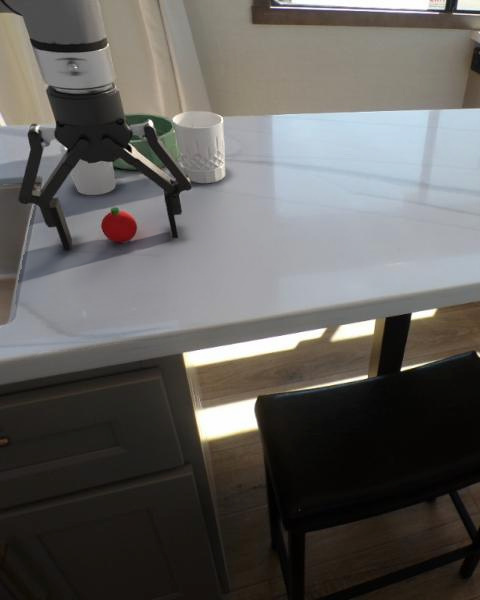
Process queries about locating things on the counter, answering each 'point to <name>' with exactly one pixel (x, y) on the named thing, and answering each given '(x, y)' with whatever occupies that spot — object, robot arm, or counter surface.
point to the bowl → (163, 132)
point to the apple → (119, 226)
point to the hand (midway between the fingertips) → (123, 239)
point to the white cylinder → (92, 176)
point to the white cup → (201, 145)
